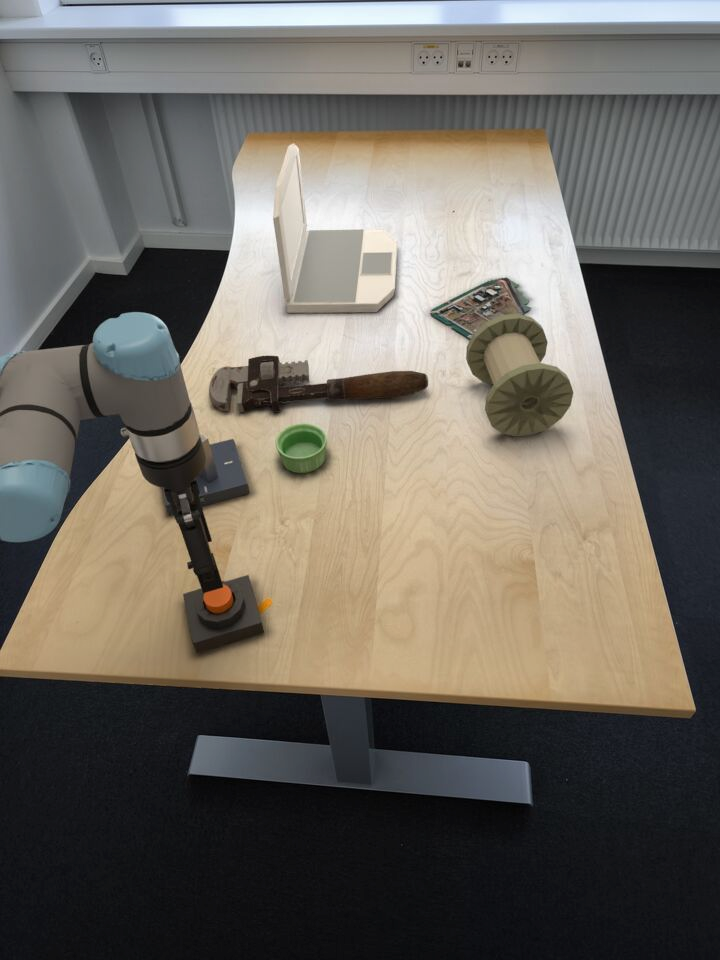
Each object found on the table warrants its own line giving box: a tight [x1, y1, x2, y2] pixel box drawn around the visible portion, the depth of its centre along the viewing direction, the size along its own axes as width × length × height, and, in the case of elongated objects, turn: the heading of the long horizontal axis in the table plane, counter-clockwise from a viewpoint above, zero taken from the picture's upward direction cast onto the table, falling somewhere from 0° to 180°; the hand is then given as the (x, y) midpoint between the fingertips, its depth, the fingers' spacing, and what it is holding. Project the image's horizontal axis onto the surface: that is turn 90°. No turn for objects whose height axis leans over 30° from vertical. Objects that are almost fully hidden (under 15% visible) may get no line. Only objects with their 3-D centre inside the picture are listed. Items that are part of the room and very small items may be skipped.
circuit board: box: [429, 276, 532, 340], centre depth 161 cm, size 23×15×1 cm, turn 128°
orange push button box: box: [182, 574, 265, 654], centre depth 107 cm, size 10×9×4 cm
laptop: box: [272, 143, 398, 314], centre depth 165 cm, size 33×24×26 cm
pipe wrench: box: [208, 355, 429, 413], centre depth 143 cm, size 43×13×5 cm, turn 93°
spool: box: [465, 314, 574, 438], centre depth 133 cm, size 16×15×15 cm
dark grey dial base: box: [161, 438, 251, 516], centre depth 128 cm, size 14×12×3 cm
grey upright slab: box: [199, 432, 218, 482], centre depth 124 cm, size 7×2×9 cm, turn 48°
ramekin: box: [275, 423, 328, 474], centre depth 130 cm, size 9×9×4 cm
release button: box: [204, 584, 233, 614], centre depth 105 cm, size 4×4×2 cm
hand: (207, 564), depth 99 cm, fingers open, 8 cm apart
